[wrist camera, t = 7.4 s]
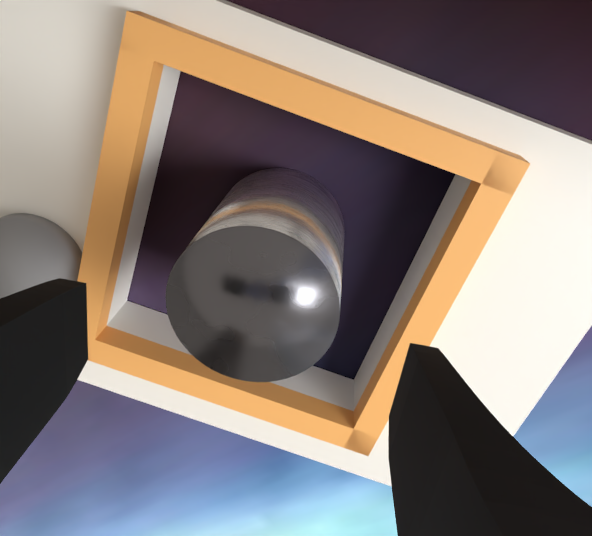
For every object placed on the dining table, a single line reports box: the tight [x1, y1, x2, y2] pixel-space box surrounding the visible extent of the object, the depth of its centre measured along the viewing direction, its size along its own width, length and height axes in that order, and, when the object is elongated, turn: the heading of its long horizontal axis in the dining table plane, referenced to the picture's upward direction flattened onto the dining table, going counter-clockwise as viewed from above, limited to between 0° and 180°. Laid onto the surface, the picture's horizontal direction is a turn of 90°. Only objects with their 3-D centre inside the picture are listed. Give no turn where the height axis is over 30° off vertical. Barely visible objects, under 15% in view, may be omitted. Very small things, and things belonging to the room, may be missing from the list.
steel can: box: [166, 168, 345, 382], centre depth 17 cm, size 5×5×6 cm
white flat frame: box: [0, 0, 592, 486], centre depth 19 cm, size 22×15×3 cm
